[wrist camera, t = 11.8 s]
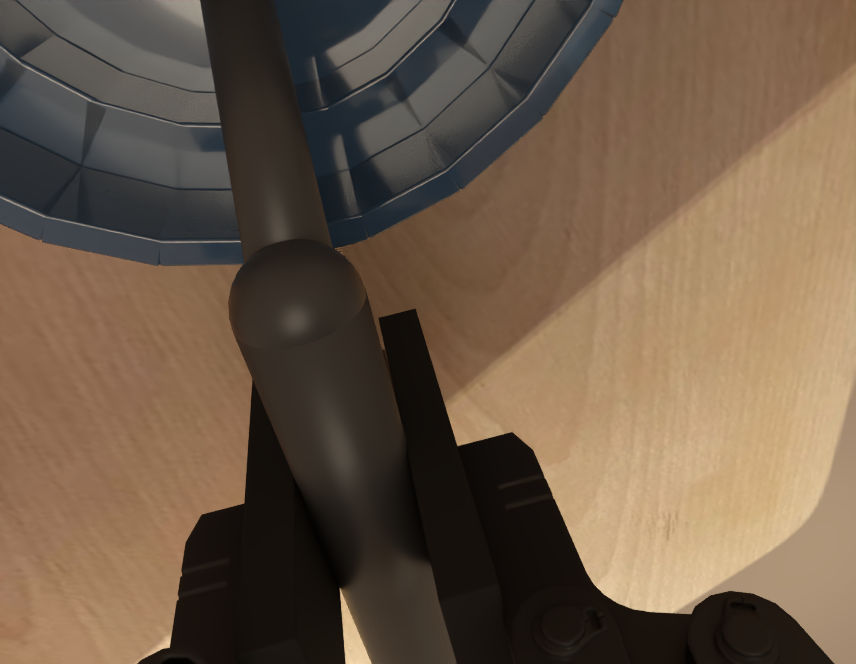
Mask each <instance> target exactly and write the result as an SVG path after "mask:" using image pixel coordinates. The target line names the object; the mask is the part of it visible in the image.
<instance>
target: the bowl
mask: <svg viewBox="0 0 856 664" xmlns="http://www.w3.org/2000/svg"><path fill="white" fill-rule="evenodd" d="M274 1H275V6H276V10H277V14H278V18H279V23H280V27H281V31H282V35H283V40H284V44H285V48H286V52H287V57H288V61H289V65H290V69H291V74H292V78H293V82H294V86H295V91H296V95H297V99H298V103H299V108H300V112H301V116H302V121H303V125H304V129H305V133H306V138H307V142H308V146H309V150H310V155H311V159H312V163H313V167H314V172H315V176H316V180H317V184H318V189H319V193H320V197H321V201H322V206H323V210H324V214H325V218H326V223H327V227H328V231H329V235H330V240H331V244H332V248H333V249H334V248H338V247H342V246H346V245H350V244H354V243H358V242H362V241H366V240H368V239H369V237H370V238H372V237H374V236H376V235H378V234H380V233H382V232H384V231H386V230H388V229H390V228H391V227H393V226H395V225H397V224H399V223H401V222H403V221H405V220H407V219H408V218H410V217H412V216H414V215H416V214H418V213H420V212H422V211H424V210H426V209H427V208H429V207H431V206H433V205H435V204H437V203H439V202H441V201H443V200H444V199H446V198H448V197H450V196H452V195H454V194H456V193H458V192H459V191H460V189H461V190H463V189H464V188H465V187H466V186H468V185H469V184H470V183H471V182H472V181H473V180H474V179H476V178H477V177H478V176H479V175H480V174H481V173H482V172H483V171H485V170H486V169H487V168H488V167H489V166H490V165H491V164H493V163H494V162H495V161H496V160H497V159H498V158H499V157H500V156H502V155H503V154H504V153H505V152H506V151H507V150H508V149H510V148H511V147H512V146H513V145H514V144H515V143H516V142H517V141H519V140H520V139H521V138H522V137H523V136H524V135H525V134H527V133H528V132H529V131H530V130H531V129H532V128H533V127H534V126H536V125H537V124H538V123H539V122H540V121H541V120H542V119H543V117H542V116H545V115H546V114H547V113H548V111H549V110H550V108H551V107H552V106H553V104H554V103H555V101H556V100H557V99H558V97H559V96H560V94H561V93H562V92H563V90H564V89H565V88H566V86H567V85H568V83H569V82H570V81H571V79H572V78H573V76H574V75H575V74H576V72H577V71H578V69H579V68H580V67H581V65H582V64H583V62H584V61H585V60H586V58H587V57H588V55H589V54H590V53H591V51H592V50H593V48H594V47H595V46H596V44H597V43H598V41H599V40H600V39H601V37H602V36H603V34H604V33H605V32H606V30H607V29H608V27H609V26H610V25H611V23H612V22H613V18H614V17H616V16H617V14H618V12H619V9H620V7H621V5H622V3H623V0H274ZM0 224H2V225H4V226H6V227H9V228H11V229H13V230H16V231H18V232H20V233H23V234H25V235H27V236H30V237H32V238H34V239H37V240H41V239H42V242H44V243H49V244H54V245H58V246H63V247H68V248H73V249H78V250H83V251H87V252H92V253H97V254H102V255H107V256H112V257H116V258H121V259H126V260H131V261H136V262H141V263H146V264H150V265H155V266H158V265H159V264H160V265H162V266H188V265H244V259H243V253H242V247H241V241H240V235H239V229H238V223H237V217H236V211H235V205H234V199H233V193H232V188H231V182H230V176H229V170H228V164H227V158H226V152H225V146H224V140H223V134H222V128H221V122H220V116H219V111H218V105H217V99H216V93H215V87H214V81H213V75H212V69H211V63H210V57H209V51H208V45H207V39H206V34H205V28H204V22H203V16H202V10H201V4H200V0H0Z"/></svg>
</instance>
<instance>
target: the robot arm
mask: <svg viewBox="0 0 856 664" xmlns="http://www.w3.org/2000/svg"><path fill="white" fill-rule="evenodd" d="M379 322H380V327H381V332H382V336H383V341H384V346H385V351H386V355H387V360H388V365H389V369H390V374H391V379H392V384H393V388H394V393H395V398H396V402H397V406H398V410H399V414H400V417H401V421H402V425H403V428H404V432H405V436H406V440H407V454H408V459H409V463H410V468H411V473H412V478H413V482H414V487H415V492H416V496H417V501H418V506H419V510H420V515H421V520H422V525H423V529H424V534H425V539H426V543H427V548H428V553H429V557H430V562H431V567H432V572H433V576H434V581H435V586H436V590H437V595H438V600H439V604H440V607H441V611H442V614H443V618H444V621H445V625H446V628H447V631H448V635H449V638H450V642H451V645H452V649H453V652H454V656H455V659H456V662H457V664H834V663H833V662H832V661H831V660H830V658H829V657H828V656H827V655H826V654H825V653H824V652H823V651H822V649H821V648H820V647H819V646H818V645H817V644H816V643H815V642H814V641H813V639H812V638H811V637H810V636H809V635H808V634H807V633H806V632H805V630H804V629H803V628H802V627H801V626H800V625H799V624H798V623H797V621H796V620H795V619H793V618H792V617H791V616H790V615H789V614H787V613H786V612H785V611H784V610H783V609H782V608H780V607H779V606H778V605H777V604H776V603H773V602H771V601H769V600H767V599H764V598H762V597H760V596H757V595H755V594H751V593H743V592H734V591H728V592H724V593H720V594H715V595H711V596H709V597H708V598H706V599H705V600H704V601H702V602H701V603H699V604H698V605H697V606H695V608H694V610H693V612H692V614H675V613H655V612H646V611H639V610H633V609H631V608H628V607H625V606H623V605H620V604H618V603H616V602H614V601H613V600H611V599H610V598H608V597H607V596H605V595H604V594H603V593H602V592H601V591H600V590H599V589H598V588H597V587H596V586H595V585H594V584H593V583H592V581H591V579H590V578H589V576H588V574H587V573H586V571H585V568H584V566H583V564H582V561H581V559H580V557H579V554H578V552H577V550H576V548H575V545H574V543H573V541H572V538H571V536H570V534H569V532H568V529H567V527H566V525H565V522H564V520H563V518H562V515H561V513H560V511H559V509H558V506H557V504H556V502H555V499H553V496H552V492H551V490H550V488H549V486H548V483H547V481H546V479H545V478H544V474H543V472H542V469H541V467H540V465H539V463H538V460H537V458H536V456H535V453H534V451H533V450H532V449H531V448H530V447H529V446H528V445H527V444H525V443H524V442H523V441H522V440H521V439H519V438H518V437H517V436H516V435H515V434H514V433H512V432H511V433H507V434H503V435H499V436H496V437H492V438H488V439H484V440H480V441H476V442H472V443H469V444H465V445H461V446H457V444H456V440H455V437H454V434H453V430H452V427H451V424H450V420H449V417H448V414H447V411H446V407H445V404H444V401H443V397H442V394H441V391H440V388H439V384H438V381H437V378H436V374H435V371H434V368H433V365H432V361H431V358H430V355H429V351H428V348H427V345H426V342H425V338H424V335H423V332H422V328H421V325H420V322H419V318H418V315H417V312H416V309H412V310H408V311H404V312H400V313H396V314H392V315H388V316H384V317H380V318H379ZM181 571H182V576H181V577H180V584H179V590H178V596H179V600H177V604H176V610H175V617H174V623H173V630H172V637H171V643H170V648H166V649H162V650H160V651H158V652H156V653H154V654H152V655H150V656H148V657H146V658H144V659H142V660H141V661H140V662H139V663H138V664H345V651H344V638H343V626H342V613H341V600H340V587H339V584H338V582H337V579H336V577H335V575H334V572H333V570H332V567H331V565H330V563H329V560H328V558H327V555H326V553H325V551H324V548H323V546H322V544H321V541H320V539H319V536H318V534H317V532H316V529H315V527H314V524H313V522H312V520H311V517H310V515H309V512H308V510H307V508H306V505H305V503H304V501H303V498H302V496H301V493H300V491H299V489H298V486H297V484H296V481H295V479H294V477H293V474H292V472H291V470H290V467H289V465H288V462H287V460H286V458H285V455H284V453H283V450H282V448H281V446H280V443H279V441H278V438H277V436H276V434H275V431H274V429H273V427H272V424H271V422H270V419H269V417H268V415H267V412H266V410H265V407H264V405H263V403H262V400H261V398H260V395H259V393H258V391H257V388H256V386H255V384H254V381H252V396H251V411H250V427H249V442H248V457H247V473H246V488H245V503H244V504H241V505H237V506H233V507H229V508H225V509H222V510H218V511H214V512H210V513H206V514H202V515H201V517H200V519H199V520H198V522H197V524H196V525H195V527H194V529H193V531H192V532H191V534H190V536H189V538H188V539H187V541H186V544H185V550H184V557H183V564H182V570H181Z"/></svg>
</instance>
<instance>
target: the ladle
mask: <svg viewBox="0 0 856 664" xmlns="http://www.w3.org/2000/svg"><path fill="white" fill-rule="evenodd" d="M200 4H201V10H202V16H203V22H204V28H205V34H206V39H207V45H208V51H209V57H210V63H211V69H212V75H213V81H214V87H215V93H216V99H217V105H218V111H219V116H220V122H221V128H222V134H223V140H224V146H225V152H226V158H227V164H228V170H229V176H230V182H231V188H232V193H233V199H234V205H235V211H236V217H237V223H238V229H239V235H240V241H241V247H242V253H243V259H244V265H243V266H242V267H241V268H240V270H239V271H238V273H237V275H236V277H235V279H234V281H233V283H232V287H231V290H230V296H229V301H228V305H229V320H230V324H231V327H232V330H233V333H234V336H235V338H236V341H237V343H238V345H239V348H240V350H241V353H242V355H243V357H244V360H245V362H246V364H247V367H248V369H249V372H250V374H251V376H252V379H253V381H254V384H255V386H256V388H257V391H258V393H259V395H260V398H261V400H262V403H263V405H264V407H265V410H266V412H267V415H268V417H269V419H270V422H271V424H272V427H273V429H274V431H275V434H276V436H277V438H278V441H279V443H280V446H281V448H282V450H283V453H284V455H285V458H286V460H287V462H288V465H289V467H290V470H291V472H292V474H293V477H294V479H295V481H296V484H297V486H298V489H299V491H300V493H301V496H302V498H303V501H304V503H305V505H306V508H307V510H308V512H309V515H310V517H311V520H312V522H313V524H314V527H315V529H316V532H317V534H318V536H319V539H320V541H321V544H322V546H323V548H324V551H325V553H326V555H327V558H328V560H329V563H330V565H331V567H332V570H333V572H334V575H335V577H336V579H337V582H338V584H339V587H340V589H341V591H342V594H343V596H344V598H345V601H346V603H347V606H348V608H349V610H350V613H351V615H352V618H353V620H354V622H355V625H356V627H357V629H358V632H359V634H360V637H361V639H362V641H363V644H364V646H365V649H366V651H367V653H368V656H369V658H370V661H371V663H372V664H457V662H456V659H455V656H454V652H453V649H452V645H451V642H450V638H449V635H448V631H447V628H446V625H445V621H444V618H443V614H442V611H441V607H440V604H439V600H438V595H437V590H436V586H435V581H434V576H433V572H432V567H431V562H430V557H429V553H428V548H427V543H426V539H425V534H424V529H423V525H422V520H421V515H420V510H419V506H418V501H417V496H416V492H415V487H414V482H413V478H412V473H411V468H410V463H409V459H408V454H407V440H406V436H405V432H404V428H403V425H402V421H401V417H400V414H399V410H398V406H397V402H396V398H395V393H394V388H393V384H392V379H391V374H390V369H389V365H388V360H387V355H386V351H385V350H382V348H381V344H380V340H379V337H378V333H377V330H376V326H375V322H374V319H373V315H372V311H371V308H370V304H369V300H368V297H367V293H366V290H365V287H364V285H363V282H362V280H361V277H360V275H359V273H358V272H357V270H356V269H355V267H354V266H353V265H352V263H351V262H349V261H348V260H347V259H346V258H345V257H344V256H343V255H342V254H341V253H340V252H338V251H337V250H335V249H333V248H332V244H331V240H330V235H329V231H328V227H327V223H326V218H325V214H324V210H323V206H322V201H321V197H320V193H319V189H318V184H317V180H316V176H315V172H314V167H313V163H312V159H311V155H310V150H309V146H308V142H307V138H306V133H305V129H304V125H303V121H302V116H301V112H300V108H299V103H298V99H297V95H296V91H295V86H294V82H293V78H292V74H291V69H290V65H289V61H288V57H287V52H286V48H285V44H284V40H283V35H282V31H281V27H280V23H279V18H278V14H277V10H276V6H275V1H274V0H200Z"/></svg>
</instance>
